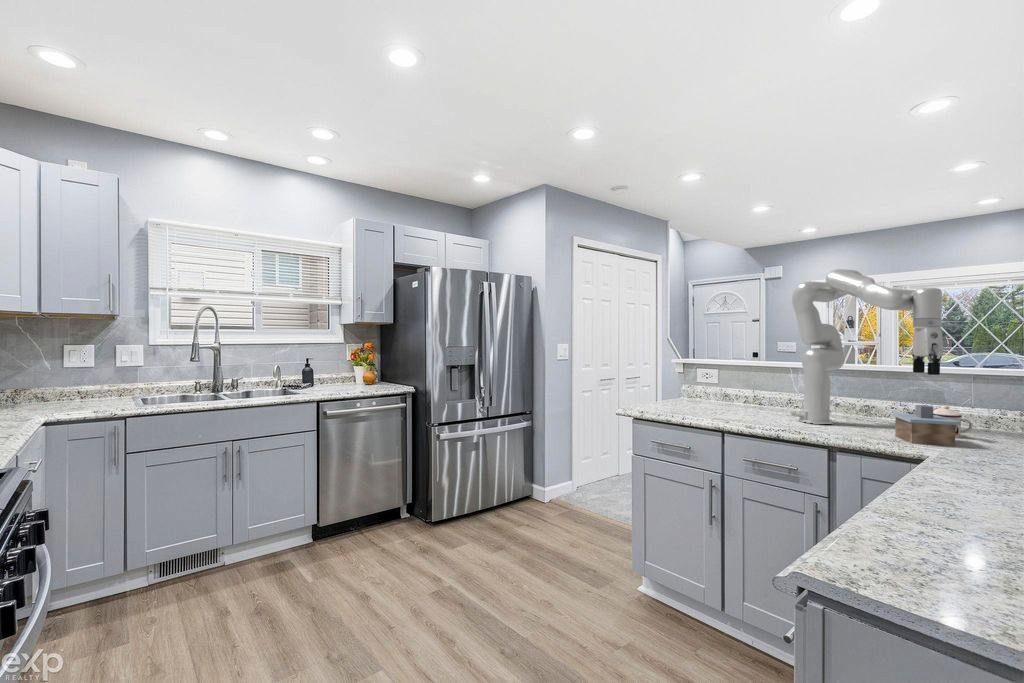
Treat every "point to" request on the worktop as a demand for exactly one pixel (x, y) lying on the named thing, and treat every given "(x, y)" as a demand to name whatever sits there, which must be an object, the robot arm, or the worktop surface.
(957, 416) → the teacup with lid
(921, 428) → the box
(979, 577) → the worktop surface
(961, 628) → the worktop surface
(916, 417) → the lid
